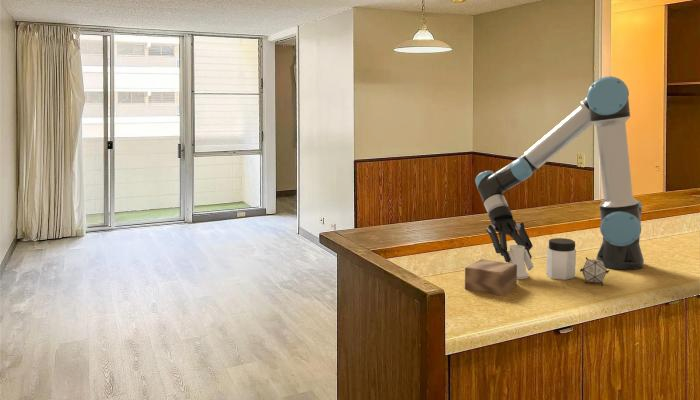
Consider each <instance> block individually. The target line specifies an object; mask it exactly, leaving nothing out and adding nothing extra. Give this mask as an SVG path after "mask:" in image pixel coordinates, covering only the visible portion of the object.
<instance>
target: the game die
mask: <svg viewBox="0 0 700 400" xmlns="http://www.w3.org/2000/svg"><path fill="white" fill-rule="evenodd" d="M585 259H586V261H585V263H584V265H583V267H582V268H580V269H579V272H582V274H583V277H584V279H585V282H584V284H587V283H600V284H601V285H602V286H604V283H603V281H604V279H605V277H606V275H607V274H609V272H610V270H607V267H605V265H604V263H603V260H604V258H603V259H602V260H596V259H589V258H588V257H587V256H585Z"/></svg>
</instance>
